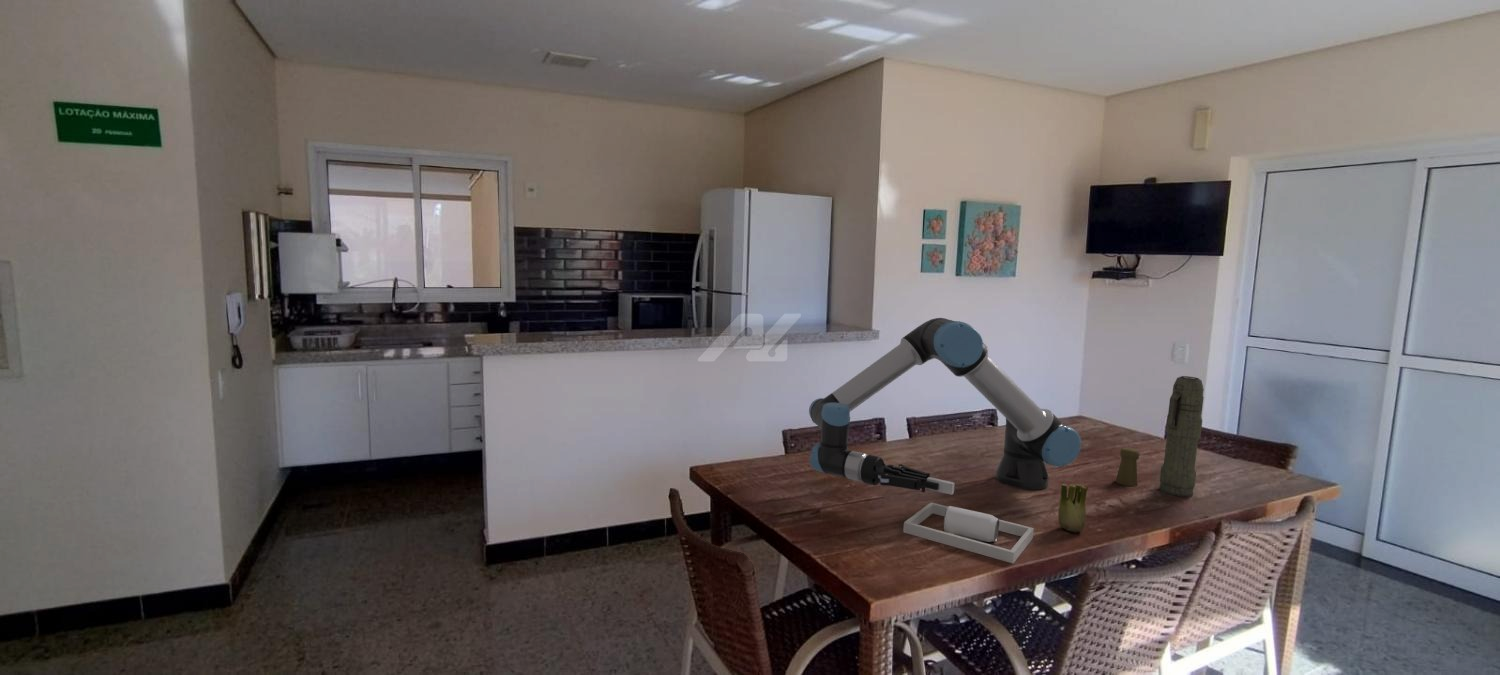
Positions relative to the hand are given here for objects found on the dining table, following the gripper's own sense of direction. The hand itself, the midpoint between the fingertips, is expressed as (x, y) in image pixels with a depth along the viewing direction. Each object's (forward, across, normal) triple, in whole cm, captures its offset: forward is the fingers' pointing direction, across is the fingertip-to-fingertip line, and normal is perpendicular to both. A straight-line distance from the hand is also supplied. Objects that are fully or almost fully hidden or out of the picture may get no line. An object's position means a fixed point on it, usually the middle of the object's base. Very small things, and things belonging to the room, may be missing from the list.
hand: (953, 488), depth 166 cm
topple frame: (+4, 0, -11) cm, 12 cm away
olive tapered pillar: (+31, -74, -11) cm, 81 cm away
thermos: (+44, -75, -11) cm, 88 cm away
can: (-1, +1, -8) cm, 8 cm away
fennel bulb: (+24, -21, -11) cm, 34 cm away
